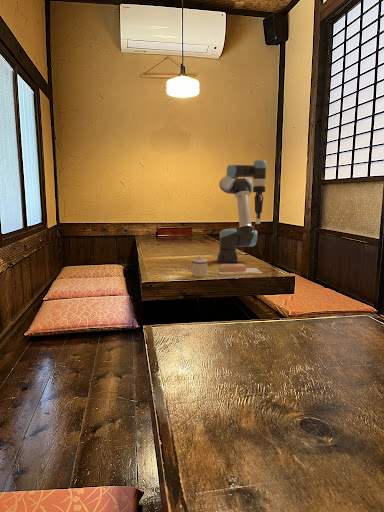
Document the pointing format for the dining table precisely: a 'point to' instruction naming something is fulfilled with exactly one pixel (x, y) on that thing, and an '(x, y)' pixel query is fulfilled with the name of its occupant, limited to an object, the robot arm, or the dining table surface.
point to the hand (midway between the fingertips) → (257, 223)
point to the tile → (233, 267)
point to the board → (248, 270)
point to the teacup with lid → (199, 267)
